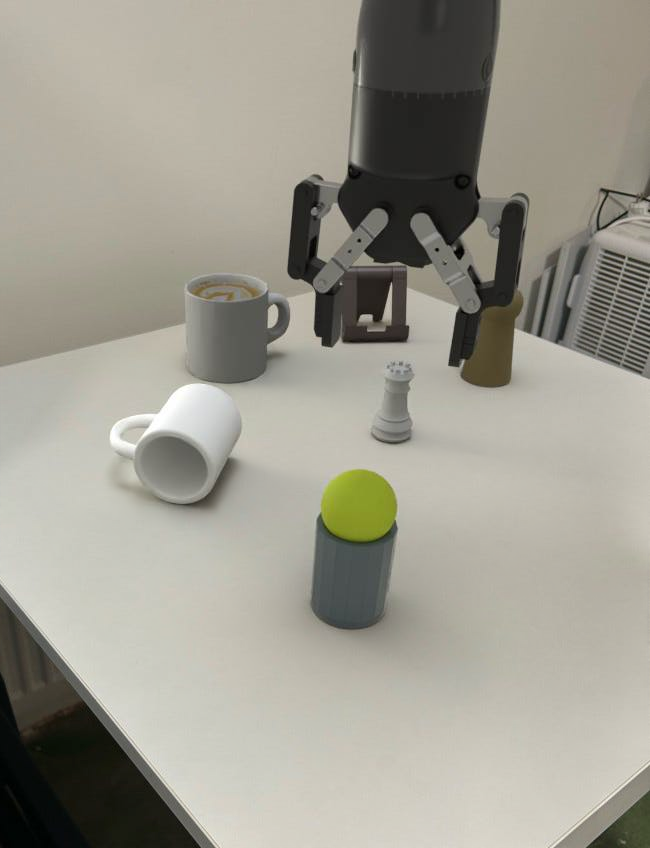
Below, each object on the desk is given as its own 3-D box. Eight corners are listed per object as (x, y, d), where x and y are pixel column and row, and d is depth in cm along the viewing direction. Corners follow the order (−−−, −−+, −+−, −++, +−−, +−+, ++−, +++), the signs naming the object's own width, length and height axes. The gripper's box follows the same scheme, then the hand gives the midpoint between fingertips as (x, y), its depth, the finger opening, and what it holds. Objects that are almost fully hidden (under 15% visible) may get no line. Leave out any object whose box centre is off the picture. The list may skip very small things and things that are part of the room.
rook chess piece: (363, 427, 91) (370, 359, 86) (400, 421, 92) (409, 354, 87) (381, 446, 87) (389, 377, 82) (419, 440, 88) (429, 371, 84)
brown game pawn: (510, 368, 103) (528, 281, 97) (511, 389, 99) (531, 299, 92) (461, 363, 104) (476, 277, 98) (459, 384, 100) (475, 294, 93)
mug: (242, 458, 85) (242, 387, 80) (215, 510, 77) (214, 435, 72) (132, 443, 87) (126, 373, 83) (96, 492, 79) (87, 418, 75)
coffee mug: (196, 386, 98) (193, 304, 92) (180, 353, 106) (177, 276, 100) (302, 375, 101) (307, 295, 95) (280, 344, 109) (283, 268, 103)
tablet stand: (342, 343, 109) (347, 281, 104) (333, 321, 116) (337, 261, 111) (407, 342, 110) (416, 280, 105) (395, 320, 116) (402, 260, 111)
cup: (393, 591, 68) (405, 511, 63) (374, 637, 63) (385, 554, 59) (324, 573, 70) (331, 494, 65) (300, 617, 65) (306, 535, 60)
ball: (401, 525, 64) (408, 463, 60) (382, 567, 60) (389, 503, 56) (332, 510, 66) (335, 449, 62) (309, 550, 61) (311, 487, 58)
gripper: (563, 73, 46) (508, 348, 56) (320, 61, 50) (308, 318, 60) (549, 93, 40) (491, 394, 50) (276, 78, 45) (271, 357, 54)
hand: (391, 352), depth 55 cm, fingers open, 8 cm apart
